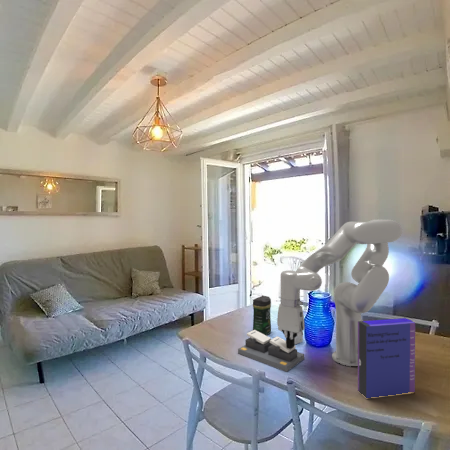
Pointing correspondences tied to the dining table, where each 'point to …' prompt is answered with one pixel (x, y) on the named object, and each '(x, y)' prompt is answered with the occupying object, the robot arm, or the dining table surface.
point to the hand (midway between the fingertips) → (290, 347)
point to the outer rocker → (259, 336)
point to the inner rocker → (281, 344)
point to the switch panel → (270, 358)
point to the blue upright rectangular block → (386, 357)
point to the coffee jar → (262, 315)
